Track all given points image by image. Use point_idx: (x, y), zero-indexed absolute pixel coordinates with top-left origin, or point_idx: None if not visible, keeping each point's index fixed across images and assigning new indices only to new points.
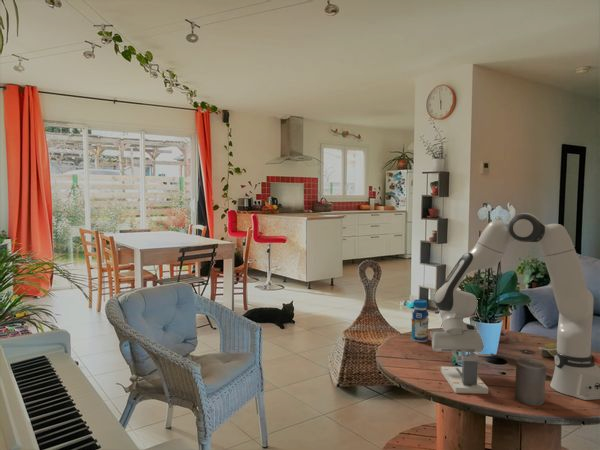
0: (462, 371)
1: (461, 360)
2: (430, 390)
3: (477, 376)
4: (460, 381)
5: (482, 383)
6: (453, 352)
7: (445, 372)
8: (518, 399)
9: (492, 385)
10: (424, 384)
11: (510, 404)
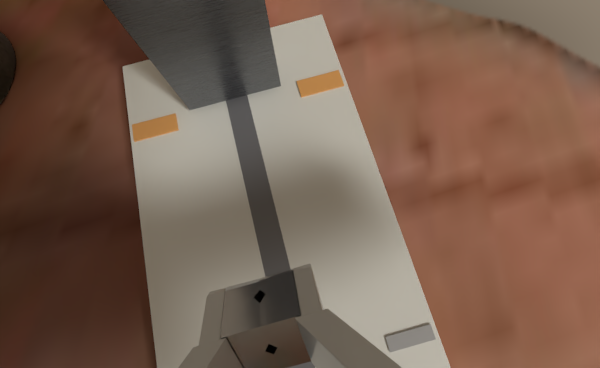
0: (265, 12)
1: (253, 282)
2: (460, 27)
3: (150, 255)
4: (289, 115)
5: (142, 125)
6: (387, 363)
7: (408, 261)
8: (2, 39)
9: (83, 218)
10: (513, 93)
11: (65, 5)
